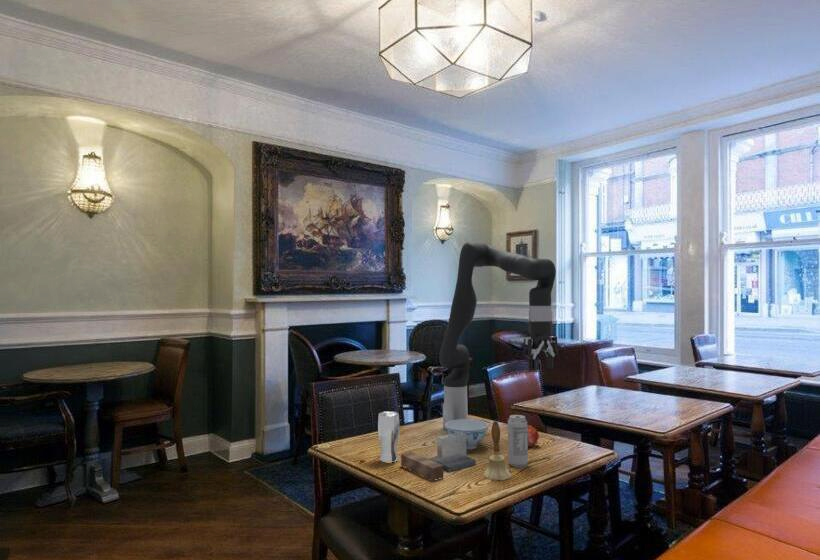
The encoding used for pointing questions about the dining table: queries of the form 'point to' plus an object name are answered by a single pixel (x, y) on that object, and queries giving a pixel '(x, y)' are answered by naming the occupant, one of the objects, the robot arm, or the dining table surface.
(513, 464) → the energy drink can
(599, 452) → the dining table surface
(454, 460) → the stand
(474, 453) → the dining table surface
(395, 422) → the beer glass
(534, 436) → the pomegranate
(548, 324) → the robot arm
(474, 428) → the chinaware
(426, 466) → the walnut plank
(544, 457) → the dining table surface
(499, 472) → the hand bell
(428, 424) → the dining table surface
